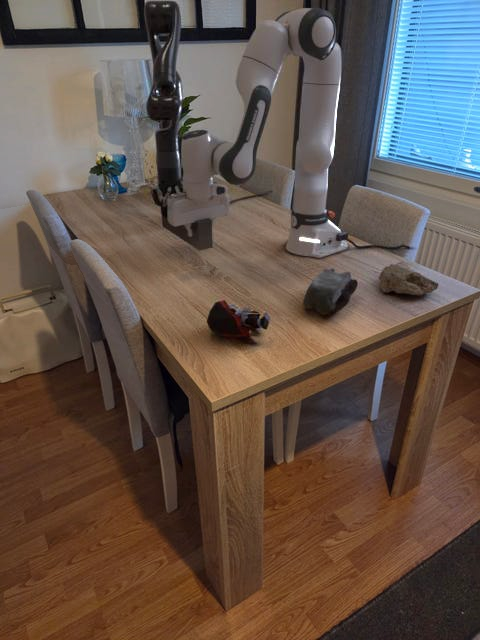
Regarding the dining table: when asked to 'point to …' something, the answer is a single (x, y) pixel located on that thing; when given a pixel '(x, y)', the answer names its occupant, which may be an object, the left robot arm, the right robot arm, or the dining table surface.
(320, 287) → the dark grey rock
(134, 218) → the dining table surface
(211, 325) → the toy
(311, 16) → the right robot arm
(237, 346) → the dining table surface
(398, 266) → the artifact
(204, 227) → the bar
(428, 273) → the dining table surface
